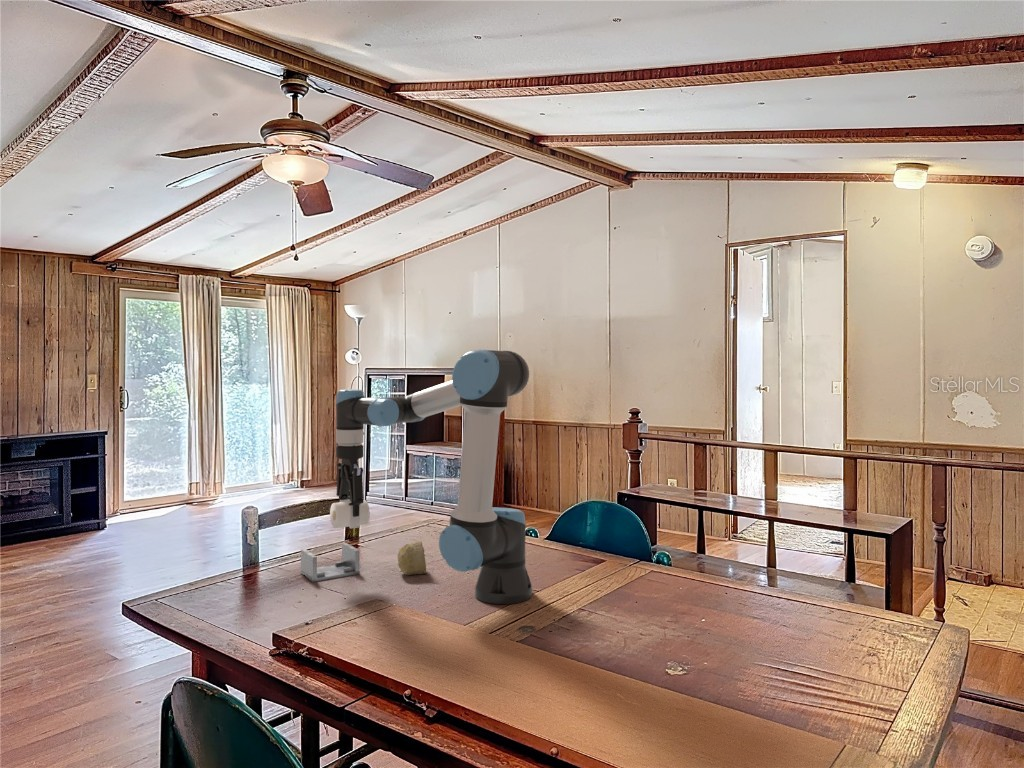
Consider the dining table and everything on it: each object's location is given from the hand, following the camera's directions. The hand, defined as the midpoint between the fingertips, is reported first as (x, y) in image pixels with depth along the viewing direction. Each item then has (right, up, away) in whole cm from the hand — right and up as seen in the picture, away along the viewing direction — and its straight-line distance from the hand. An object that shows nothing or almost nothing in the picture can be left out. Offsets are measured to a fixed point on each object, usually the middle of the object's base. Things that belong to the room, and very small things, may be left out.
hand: (349, 524), depth 200 cm
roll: (0, +3, 0) cm, 3 cm away
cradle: (-8, -16, +8) cm, 19 cm away
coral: (+17, -16, +7) cm, 24 cm away
